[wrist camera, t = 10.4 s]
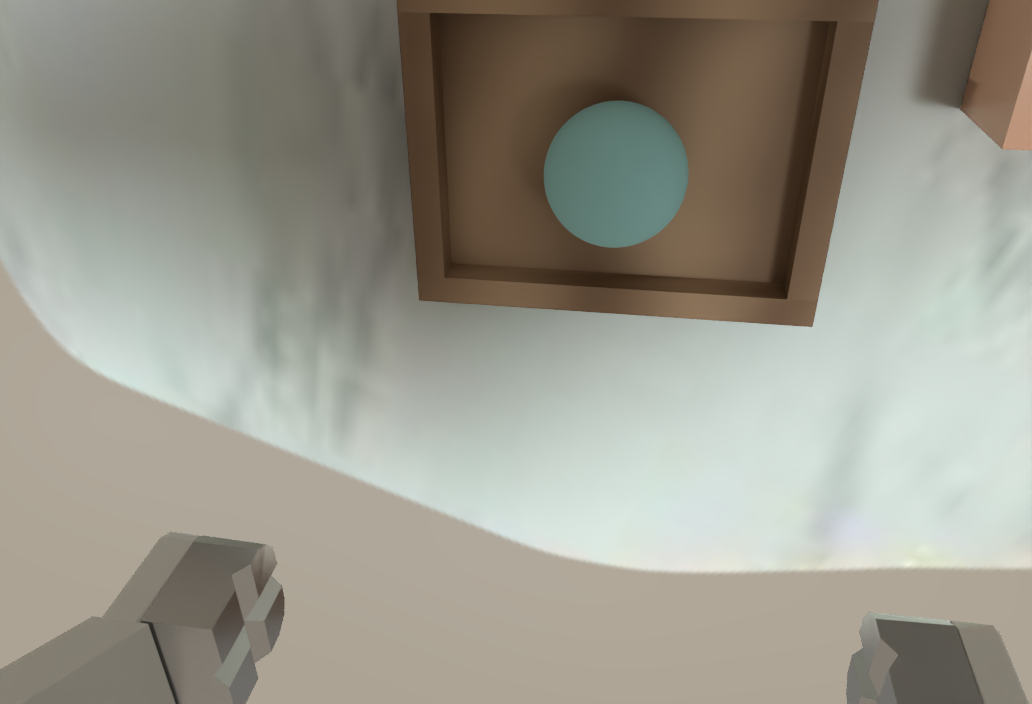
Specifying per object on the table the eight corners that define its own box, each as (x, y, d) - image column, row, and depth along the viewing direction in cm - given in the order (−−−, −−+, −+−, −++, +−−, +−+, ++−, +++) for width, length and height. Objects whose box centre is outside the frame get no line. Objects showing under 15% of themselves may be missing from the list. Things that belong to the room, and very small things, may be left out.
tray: (867, -27, 25) (881, -17, 24) (804, 299, 31) (812, 326, 29) (412, -33, 27) (394, -24, 25) (432, 276, 33) (419, 300, 31)
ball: (697, 88, 27) (694, 127, 23) (683, 221, 29) (679, 276, 25) (557, 82, 28) (532, 119, 24) (554, 212, 30) (531, 264, 26)
